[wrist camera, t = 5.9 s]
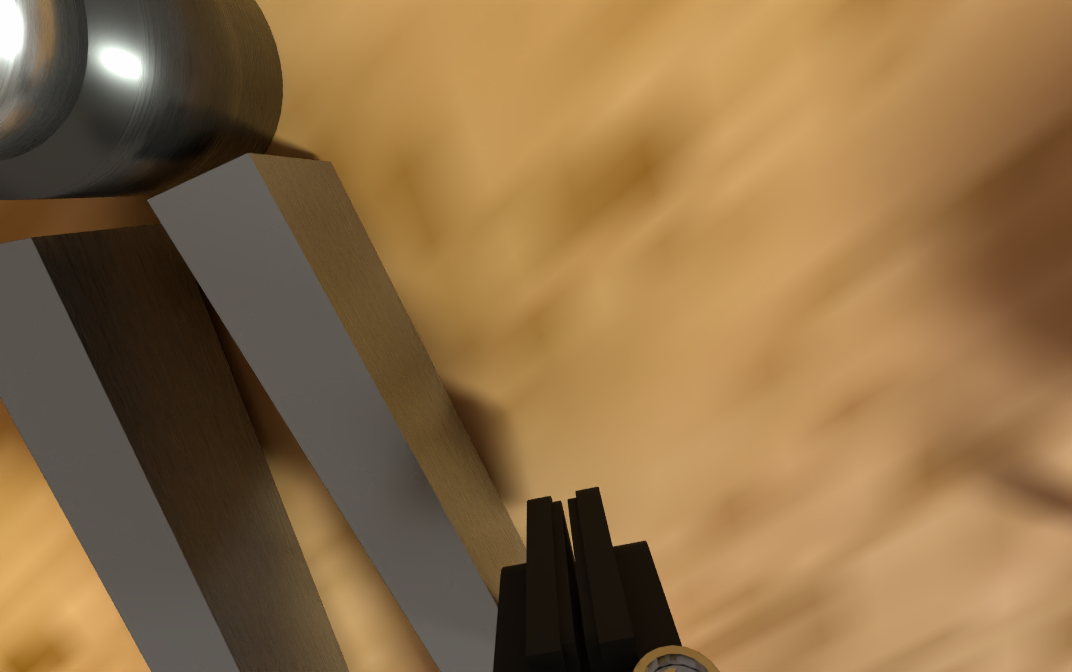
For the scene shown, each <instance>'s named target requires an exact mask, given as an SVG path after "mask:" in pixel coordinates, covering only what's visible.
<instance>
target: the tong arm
mask: <svg viewBox="0 0 1072 672" xmlns="http://www.w3.org/2000/svg"><path fill="white" fill-rule="evenodd" d="M87 57H88V26H87V17H86V11H85V5H84V0H0V161H2V160H6V159H11V158H14V157H17V156H19V155H22V154H24V153H27V152H29V151H31V150H32V149H34V148H36V147H37V146H39V145H41V144H42V143H44V142H45V141H46V140H47V139H48V138H49V137H51V136H52V135H53V134H54V133H55V132H56V131H57V130H58V129H59V128H60V126H61V125H62V124H63V123H64V121H65V120H66V119H67V118H68V116H69V114H70V112H71V110H72V109H73V107H74V105H75V103H76V101H77V99H78V96H79V93H80V91H81V88H82V85H83V81H84V76H85V72H86V67H87ZM147 201H148V203H149V204H150V206H151V208H152V209H153V211H154V212H155V214H156V216H157V217H158V219H159V220H160V222H161V224H162V225H163V227H164V228H165V230H166V232H167V233H168V235H169V236H170V238H171V240H172V241H173V243H174V244H175V246H176V248H177V249H178V251H179V253H180V254H181V256H182V257H183V259H184V261H185V262H186V264H187V265H188V267H189V269H190V270H191V272H192V273H193V275H194V277H195V278H196V280H197V281H198V283H199V285H200V286H201V288H202V289H203V291H204V293H205V294H206V296H207V297H208V299H209V301H210V302H211V304H212V306H213V307H214V309H215V310H216V312H217V314H218V315H219V317H220V318H221V320H222V322H223V323H224V325H225V326H226V328H227V330H228V331H229V333H230V334H231V336H232V338H233V339H234V341H235V342H236V344H237V346H238V347H239V349H240V350H241V352H242V354H243V355H244V357H245V359H246V360H247V362H248V363H249V365H250V367H251V368H252V370H253V371H254V373H255V375H256V376H257V378H258V379H259V381H260V383H261V384H262V386H263V387H264V389H265V391H266V392H267V394H268V395H269V397H270V399H271V400H272V402H273V403H274V405H275V407H276V408H277V410H278V412H279V413H280V415H281V416H282V418H283V420H284V421H285V423H286V424H287V426H288V428H289V429H290V431H291V432H292V434H293V436H294V437H295V439H296V440H297V442H298V444H299V445H300V447H301V448H302V450H303V452H304V453H305V455H306V456H307V458H308V460H309V461H310V463H311V465H312V466H313V468H314V469H315V471H316V473H317V474H318V476H319V477H320V479H321V481H322V482H323V484H324V485H325V487H326V489H327V490H328V492H329V493H330V495H331V497H332V498H333V500H334V501H335V503H336V505H337V506H338V508H339V509H340V511H341V513H342V514H343V516H344V518H345V519H346V521H347V522H348V524H349V526H350V527H351V529H352V530H353V532H354V534H355V535H356V537H357V538H358V540H359V542H360V543H361V545H362V546H363V548H364V550H365V551H366V553H367V554H368V556H369V558H370V559H371V561H372V562H373V564H374V566H375V567H376V569H377V571H378V572H379V574H380V575H381V577H382V579H383V580H384V582H385V583H386V585H387V587H388V588H389V590H390V591H391V593H392V595H393V596H394V598H395V599H396V601H397V603H398V604H399V606H400V607H401V609H402V611H403V612H404V614H405V615H406V617H407V619H408V620H409V622H410V624H411V625H412V627H413V628H414V630H415V632H416V633H417V635H418V636H419V638H420V640H421V641H422V643H423V644H424V646H425V648H426V649H427V651H428V652H429V654H430V656H431V657H432V659H433V660H434V662H435V664H436V665H437V667H438V668H439V670H440V672H493V664H494V651H495V638H496V625H497V613H498V600H499V587H500V575H501V569H502V567H506V566H511V565H517V564H522V563H526V552H527V550H526V548H525V546H524V544H523V542H522V540H521V538H520V536H519V534H518V532H517V530H516V528H515V526H514V524H513V522H512V520H511V518H510V516H509V514H508V512H507V510H506V508H505V506H504V504H503V502H502V500H501V499H500V497H499V495H498V493H497V491H496V489H495V487H494V485H493V483H492V481H491V479H490V477H489V475H488V473H487V471H486V469H485V467H484V465H483V463H482V461H481V459H480V457H479V455H478V453H477V451H476V449H475V447H474V445H473V443H472V441H471V439H470V437H469V435H468V433H467V431H466V429H465V427H464V425H463V423H462V421H461V419H460V417H459V415H458V413H457V411H456V409H455V407H454V405H453V403H452V401H451V399H450V397H449V395H448V393H447V391H446V389H445V387H444V385H443V384H442V382H441V380H440V378H439V376H438V374H437V372H436V370H435V368H434V366H433V364H432V362H431V360H430V358H429V356H428V354H427V352H426V350H425V348H424V346H423V344H422V342H421V340H420V338H419V336H418V334H417V332H416V330H415V328H414V326H413V324H412V322H411V320H410V318H409V316H408V314H407V312H406V310H405V308H404V306H403V304H402V302H401V300H400V298H399V296H398V294H397V292H396V290H395V288H394V286H393V284H392V282H391V280H390V278H389V276H388V274H387V272H386V270H385V269H384V267H383V265H382V263H381V261H380V259H379V257H378V255H377V253H376V251H375V249H374V247H373V245H372V243H371V241H370V239H369V237H368V235H367V233H366V231H365V229H364V227H363V225H362V223H361V221H360V219H359V217H358V215H357V213H356V211H355V209H354V207H353V205H352V203H351V201H350V199H349V197H348V195H347V193H346V191H345V189H344V187H343V185H342V183H341V181H340V179H339V177H338V175H337V173H336V171H335V169H334V167H333V165H332V163H331V162H328V161H319V160H310V159H301V158H292V157H282V156H273V155H264V154H255V153H247V154H245V155H242V156H240V157H238V158H236V159H234V160H232V161H230V162H227V163H225V164H223V165H221V166H219V167H217V168H215V169H212V170H210V171H208V172H206V173H204V174H202V175H199V176H197V177H195V178H193V179H191V180H189V181H187V182H184V183H182V184H180V185H178V186H176V187H174V188H172V189H169V190H167V191H165V192H163V193H161V194H159V195H157V196H154V197H152V198H150V199H148V200H147Z"/></svg>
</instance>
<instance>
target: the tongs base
mask: <svg viewBox="0 0 1072 672" xmlns="http://www.w3.org/2000/svg"><path fill="white" fill-rule="evenodd" d="M84 5H85V11H86V17H87V26H88V57H87V67H86V72H85V76H84V81H83V85H82V88H81V91H80V93H79V96H78V99H77V101H76V103H75V105H74V107H73V109H72V110H71V112H70V114H69V116H68V118H67V119H66V120H65V121H64V123H63V124H62V125H61V126H60V128H59V129H58V130H57V131H56V132H55V133H54V134H53V135H52V136H51V137H49V138H48V139H47V140H46V141H45V142H44V143H42V144H41V145H39V146H37V147H36V148H34V149H32V150H31V151H29V152H27V153H24V154H22V155H19V156H17V157H14V158H11V159H6V160H2V161H0V200H29V199H61V198H93V197H124V196H156V195H159V194H161V193H163V192H165V191H167V190H169V189H172V188H174V187H176V186H178V185H180V184H182V183H184V182H187V181H189V180H191V179H193V178H195V177H197V176H199V175H202V174H204V173H206V172H208V171H210V170H212V169H215V168H217V167H219V166H221V165H223V164H225V163H227V162H230V161H232V160H234V159H236V158H238V157H240V156H242V155H245V154H247V153H255V154H264V153H265V152H266V150H267V148H268V147H269V145H270V143H271V141H272V139H273V136H274V134H275V132H276V129H277V126H278V122H279V118H280V114H281V107H282V98H283V80H282V72H281V64H280V59H279V55H278V51H277V47H276V43H275V41H274V38H273V35H272V32H271V30H270V27H269V25H268V23H267V21H266V19H265V17H264V15H263V13H262V11H261V9H260V7H259V6H258V4H257V3H256V1H255V0H84ZM0 398H1V399H2V401H3V403H4V405H5V407H6V409H7V410H8V412H9V414H10V416H11V418H12V419H13V421H14V423H15V425H16V427H17V429H18V430H19V432H20V434H21V436H22V438H23V439H24V441H25V443H26V445H27V447H28V449H29V450H30V452H31V454H32V456H33V458H34V459H35V461H36V463H37V465H38V467H39V469H40V470H41V472H42V474H43V476H44V478H45V479H46V481H47V483H48V485H49V487H50V488H51V490H52V492H53V494H54V496H55V498H56V499H57V501H58V503H59V505H60V507H61V508H62V510H63V512H64V514H65V516H66V518H67V519H68V521H69V523H70V525H71V527H72V528H73V530H74V532H75V534H76V536H77V538H78V539H79V541H80V543H81V545H82V547H83V548H84V550H85V552H86V554H87V556H88V558H89V559H90V561H91V563H92V565H93V567H94V568H95V570H96V572H97V574H98V576H99V577H100V579H101V581H102V583H103V585H104V587H105V588H106V590H107V592H108V594H109V596H110V597H111V599H112V601H113V603H114V605H115V607H116V608H117V610H118V612H119V614H120V616H121V617H122V619H123V621H124V623H125V625H126V627H127V628H128V630H129V632H130V634H131V636H132V637H133V639H134V641H135V643H136V645H137V647H138V648H139V650H140V652H141V654H142V656H143V657H144V659H145V661H146V663H147V665H148V667H149V668H150V670H151V672H349V670H348V668H347V665H346V662H345V660H344V657H343V655H342V652H341V650H340V647H339V645H338V642H337V640H336V637H335V635H334V632H333V629H332V627H331V624H330V622H329V619H328V617H327V614H326V612H325V609H324V607H323V604H322V601H321V599H320V596H319V594H318V591H317V589H316V586H315V584H314V581H313V579H312V576H311V574H310V571H309V568H308V566H307V563H306V561H305V558H304V556H303V553H302V551H301V548H300V546H299V543H298V540H297V538H296V535H295V533H294V530H293V528H292V525H291V523H290V520H289V518H288V515H287V513H286V510H285V507H284V505H283V502H282V500H281V497H280V495H279V492H278V490H277V487H276V485H275V482H274V479H273V477H272V474H271V472H270V469H269V467H268V464H267V462H266V459H265V457H264V454H263V452H262V449H261V446H260V444H259V441H258V439H257V436H256V434H255V431H254V429H253V426H252V424H251V421H250V418H249V416H248V413H247V411H246V408H245V406H244V403H243V401H242V398H241V396H240V393H239V391H238V388H237V385H236V383H235V380H234V378H233V375H232V373H231V370H230V368H229V365H228V363H227V360H226V357H225V355H224V352H223V350H222V347H221V345H220V342H219V340H218V337H217V335H216V332H215V330H214V327H213V324H212V322H211V319H210V317H209V314H208V312H207V309H206V307H205V304H204V302H203V299H202V296H201V294H200V291H199V289H198V286H197V284H196V281H195V279H194V276H193V274H192V272H191V270H190V269H189V267H188V265H187V264H186V262H185V261H184V259H183V257H182V256H181V254H180V253H179V251H178V249H177V248H176V246H175V244H174V243H173V241H172V240H171V238H170V236H169V235H168V233H167V232H166V230H165V228H164V227H163V225H162V224H153V225H144V226H135V227H125V228H116V229H107V230H98V231H88V232H79V233H70V234H61V235H51V236H42V237H33V238H27V239H22V240H17V241H12V242H7V243H2V244H0Z"/></svg>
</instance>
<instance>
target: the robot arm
mask: <svg viewBox="0 0 1072 672" xmlns="http://www.w3.org/2000/svg"><path fill="white" fill-rule="evenodd" d="M568 508H569V516H570V524H571V532H572V540H573V549H574V555H573V551H572V546H571V542H570V538H569V533H568V529H567V524H566V520H565V515H564V511H563V506H562V503H561V501H556V502H552V498H551V496H547V497H542V498H537V499H531V500H528V501H527V552H526V563H522V564H517V565H511V566H506V567H502V569H501V575H500V587H499V600H498V613H497V625H496V638H495V651H494V664H493V672H720V671H719V670H718V669H717V668H716V666H715V665H714V664H713V662H712V661H711V660H709V659H708V658H707V657H705V656H704V655H703V654H701V653H700V652H698V651H695V650H693V649H690V648H688V647H683V646H682V645H681V642H680V639H679V636H678V633H677V630H676V627H675V624H674V621H673V618H672V615H671V612H670V609H669V606H668V603H667V600H666V597H665V594H664V591H663V588H662V585H661V582H660V580H659V577H658V574H657V571H656V568H655V565H654V562H653V559H652V556H651V553H650V550H649V547H648V544H647V542H646V541H641V542H636V543H630V544H625V545H620V546H614V547H613V546H612V542H611V537H610V533H609V529H608V525H607V520H606V516H605V512H604V508H603V504H602V499H601V495H600V491H599V487H594V488H589V489H584V490H578V491H576V498H572V499H568ZM574 557H575V560H574Z"/></svg>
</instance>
